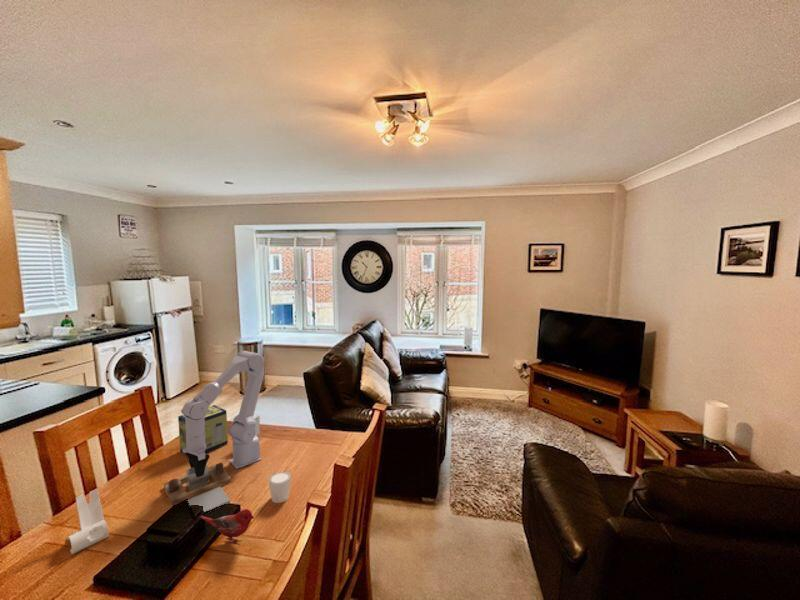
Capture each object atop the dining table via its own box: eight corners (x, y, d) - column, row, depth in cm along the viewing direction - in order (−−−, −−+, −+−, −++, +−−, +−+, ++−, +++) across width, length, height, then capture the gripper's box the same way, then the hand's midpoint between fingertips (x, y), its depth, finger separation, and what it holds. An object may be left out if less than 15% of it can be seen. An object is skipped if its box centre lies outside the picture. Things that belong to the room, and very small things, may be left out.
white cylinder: (295, 493, 115) (294, 473, 114) (282, 506, 108) (281, 485, 108) (278, 488, 117) (278, 469, 116) (264, 501, 110) (264, 481, 110)
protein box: (179, 451, 141) (177, 416, 140) (216, 437, 154) (215, 404, 153) (190, 459, 135) (188, 422, 134) (228, 443, 148) (227, 409, 147)
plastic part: (72, 557, 89) (69, 516, 88) (64, 539, 95) (61, 500, 94) (109, 539, 95) (106, 500, 94) (99, 523, 101) (97, 486, 100)
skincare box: (252, 447, 145) (251, 420, 144) (243, 446, 145) (242, 419, 144) (260, 440, 151) (259, 415, 150) (252, 439, 151) (251, 414, 150)
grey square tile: (220, 488, 117) (220, 486, 117) (230, 502, 110) (230, 500, 110) (187, 502, 110) (187, 499, 110) (195, 518, 103) (195, 515, 103)
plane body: (219, 466, 130) (219, 455, 130) (231, 481, 121) (230, 469, 120) (163, 487, 117) (163, 475, 117) (172, 505, 108) (171, 492, 108)
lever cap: (205, 478, 123) (205, 463, 122) (209, 483, 120) (208, 467, 119) (186, 486, 118) (186, 469, 118) (189, 491, 116) (188, 474, 115)
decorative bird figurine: (252, 549, 91) (251, 514, 91) (195, 540, 94) (193, 506, 94) (258, 540, 94) (257, 507, 93) (203, 532, 97) (201, 499, 97)
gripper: (177, 431, 120) (179, 467, 121) (187, 445, 110) (189, 485, 111) (199, 424, 125) (201, 459, 126) (211, 438, 115) (212, 476, 116)
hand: (197, 471), depth 119 cm, fingers open, 7 cm apart
